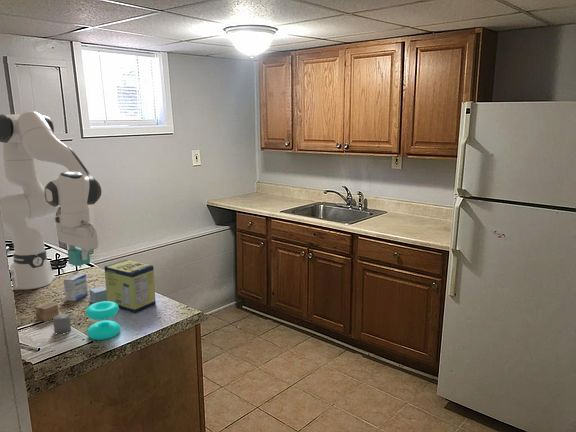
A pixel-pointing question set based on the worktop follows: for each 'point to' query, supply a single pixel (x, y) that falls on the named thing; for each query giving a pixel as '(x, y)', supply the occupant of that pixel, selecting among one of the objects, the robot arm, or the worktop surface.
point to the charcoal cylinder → (62, 323)
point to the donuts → (103, 327)
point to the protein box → (130, 285)
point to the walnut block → (46, 311)
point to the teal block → (77, 257)
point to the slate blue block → (98, 294)
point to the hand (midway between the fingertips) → (79, 257)
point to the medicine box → (75, 287)
